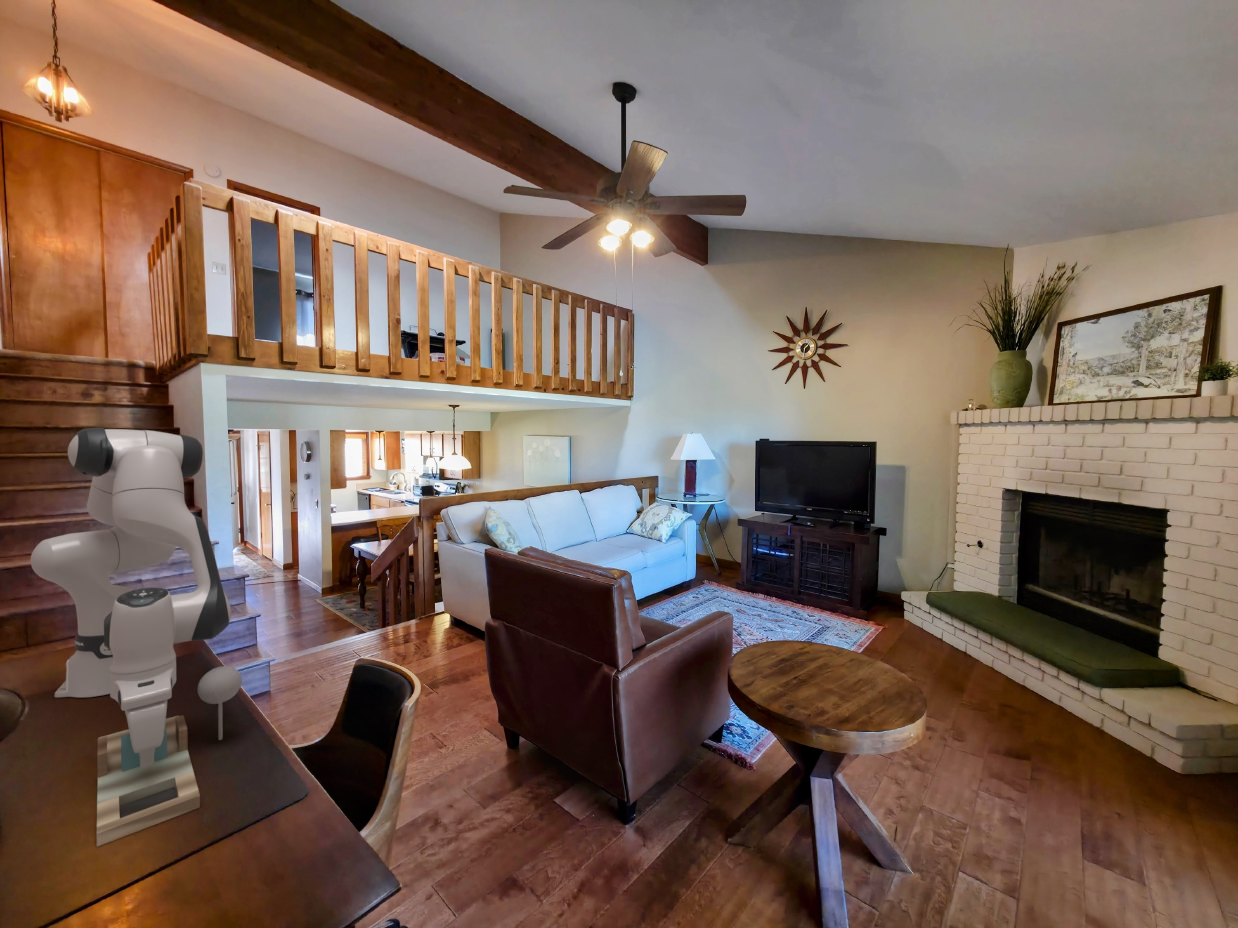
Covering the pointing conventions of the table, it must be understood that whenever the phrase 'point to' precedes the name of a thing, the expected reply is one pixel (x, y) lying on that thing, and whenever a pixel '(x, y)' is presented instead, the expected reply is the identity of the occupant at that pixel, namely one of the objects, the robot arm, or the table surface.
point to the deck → (143, 786)
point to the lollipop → (219, 689)
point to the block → (132, 758)
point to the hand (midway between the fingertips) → (145, 753)
